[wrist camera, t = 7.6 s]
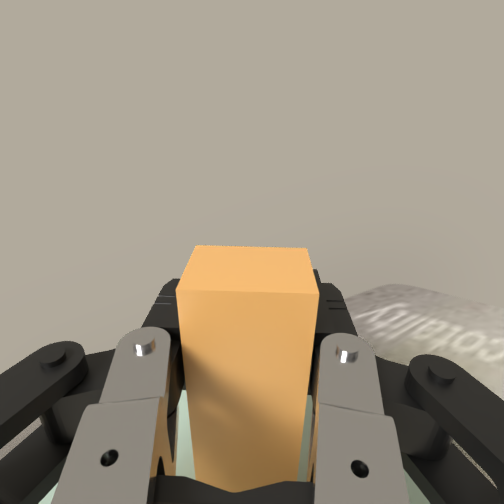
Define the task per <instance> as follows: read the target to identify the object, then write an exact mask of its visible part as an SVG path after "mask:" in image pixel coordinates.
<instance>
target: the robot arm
mask: <svg viewBox="0 0 504 504" xmlns="http://www.w3.org/2000/svg"><path fill="white" fill-rule="evenodd" d="M313 273H314V276H315V280H316V283H317V287H318V291H319V301H318V309H317V318H316V326H315V334H314V343H313V351H312V359H311V368H310V376H309V384H308V393H307V395H311V396H312V402H313V407H312V415H311V427H310V441H309V454H308V468H307V481H306V482H301V481H282V482H278V483H274V484H270V485H266V486H262V487H258V488H254V489H250V490H246V491H241V492H236V493H235V492H228V491H226V490H223V489H220V488H217V487H214V486H211V485H209V484H206V483H203V482H200V481H197V480H194V479H191V478H189V477H186V476H176V459H177V441H178V422H179V404H178V403H179V400H180V397H181V393H182V390H186V383H185V374H184V364H183V355H182V345H181V336H180V326H179V317H178V307H177V298H176V288H177V286H178V283H179V281H180V279H172V280H171V281H169V282H168V283H167V284H165V285H164V286H163V288H162V290H161V291H160V293H159V297H157V299H156V301H155V304H154V305H153V306H152V308H151V310H150V312H149V314H148V316H147V317H146V319H145V321H144V323H143V325H142V327H141V328H139V329H136V330H133V331H131V332H129V333H128V334H126V335H125V336H124V337H123V338H122V339H121V340H120V341H119V343H118V345H117V347H116V349H113V350H109V351H104V352H99V353H94V354H89V355H85V352H84V349H83V347H82V346H81V345H80V344H78V343H76V342H71V341H62V342H57V343H53V344H49V345H47V346H44V347H42V348H40V349H39V350H37V351H36V352H34V353H32V354H31V355H29V356H28V357H26V358H25V359H23V360H22V361H20V362H19V363H17V364H16V365H14V366H12V367H11V368H9V369H8V370H6V371H5V372H3V373H2V374H0V449H1V448H2V447H3V446H5V445H6V444H7V443H8V442H9V441H11V440H12V439H13V438H14V437H15V436H17V435H18V434H19V433H20V432H21V431H23V430H24V429H25V428H26V427H27V426H29V425H30V424H31V423H32V422H33V421H35V420H36V419H37V418H38V417H39V418H40V420H41V423H42V425H41V426H40V427H38V428H37V429H36V430H35V431H34V432H33V433H31V434H30V435H29V436H28V437H27V438H26V439H24V440H23V441H22V442H21V443H20V444H19V445H18V446H16V447H15V448H14V449H13V450H12V451H11V452H9V453H8V454H7V455H6V456H5V457H4V458H2V459H1V460H0V504H38V503H39V502H40V501H41V500H42V499H43V498H44V497H45V496H46V495H47V494H48V493H49V492H50V491H51V490H52V488H53V487H54V486H55V485H56V484H57V483H58V484H57V487H56V490H55V493H54V496H53V498H52V501H51V504H410V502H409V496H408V491H407V486H406V480H405V475H404V470H405V471H406V472H407V474H408V475H409V476H410V478H411V479H412V480H413V482H414V483H415V484H416V485H417V487H418V488H419V489H420V491H421V492H422V493H423V494H424V496H425V497H426V498H427V500H428V501H429V502H430V504H504V401H503V400H502V399H501V398H499V397H498V396H497V395H496V394H494V393H493V392H492V391H490V390H489V389H488V388H487V387H485V386H484V385H483V384H482V383H480V382H479V381H478V380H476V379H475V378H474V377H473V376H471V375H470V374H469V373H468V372H466V371H465V370H464V369H463V368H461V367H460V366H458V365H457V364H455V363H454V362H452V361H450V360H448V359H445V358H443V357H439V356H436V355H427V354H425V355H418V356H416V357H414V358H413V359H412V360H411V361H410V364H409V366H406V365H402V364H398V363H395V362H391V361H388V360H384V359H382V358H379V357H377V356H376V355H375V353H374V351H373V349H372V347H371V346H370V345H369V344H368V343H367V342H366V341H364V340H363V339H361V338H360V337H358V335H357V332H356V330H355V327H354V325H353V322H352V320H351V317H350V314H349V312H348V310H347V307H346V304H345V302H344V299H343V296H342V294H341V292H340V291H339V290H338V289H337V288H336V287H335V286H334V285H333V284H332V283H321V281H320V278H319V274H318V271H317V270H316V269H313ZM453 439H454V440H455V441H456V442H457V443H458V444H459V445H460V446H461V447H462V448H463V449H464V450H465V451H466V452H467V453H468V454H469V455H470V456H471V457H472V459H473V460H474V461H475V462H476V463H477V464H478V465H479V466H480V467H481V468H482V469H483V470H484V471H485V472H486V473H487V474H488V475H489V476H490V477H491V479H492V480H493V482H494V483H495V485H496V487H497V489H498V490H497V489H496V488H495V487H494V485H493V484H492V483H491V482H490V481H489V480H488V479H487V478H486V477H485V476H484V475H483V474H482V473H481V472H480V471H479V470H478V469H477V468H476V467H475V466H474V465H473V464H472V463H471V462H470V461H469V460H468V459H467V458H466V457H465V456H464V455H463V454H462V452H461V451H460V450H459V449H458V448H457V447H456V446H455V445H454V444H453V443H452V440H453Z"/></svg>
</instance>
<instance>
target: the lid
mask: <svg viewBox="0 0 504 504" xmlns="http://www.w3.org/2000/svg"><path fill="white" fill-rule="evenodd" d="M176 298H177V307H178V317H179V326H180V336H181V345H182V355H183V364H184V374H185V383H186V390H182V393H181V397H180V400H179V403H178V404H179V422H178V441H177V459H176V476H186V477H189V478H191V479H194V480H197V481H200V482H203V483H206V484H209V485H211V486H214V487H217V488H220V489H223V490H226V491H228V492H235V493H236V492H241V491H246V490H250V489H254V488H258V487H262V486H266V485H270V484H274V483H278V482H282V481H301V482H306V481H307V468H308V454H309V441H310V427H311V415H312V407H313V402H312V396H311V395H307V393H308V384H309V376H310V368H311V359H312V351H313V343H314V334H315V326H316V318H317V309H318V301H319V291H318V287H317V283H316V280H315V276H314V273H313V269H312V266H311V262H310V258H309V255H308V251H307V248H281V247H242V246H205V245H203V246H202V245H196V247H195V249H194V252H193V253H192V255H191V258H190V260H189V262H188V264H187V266H186V268H185V270H184V273H183V275H182V277H181V279H180V281H179V283H178V286H177V288H176ZM404 475H405V480H406V486H407V491H408V496H409V502H410V504H430V502H429V501H428V500H427V498H426V497H425V496H424V494H423V493H422V492H421V491H420V489H419V488H418V487H417V485H416V484H415V483H414V482H413V480H412V479H411V478H410V476H409V475H408V474H407V472H406V471H405V470H404ZM57 484H58V483H57ZM57 484H56V485H55V486H54V487H53V488H52V490H51V491H50V492H49V493H48V494H47V495H46V496H45V497H44V498H43V499H42V500H41V501H40V502H39V503H38V504H51V501H52V498H53V496H54V493H55V490H56V487H57Z"/></svg>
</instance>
